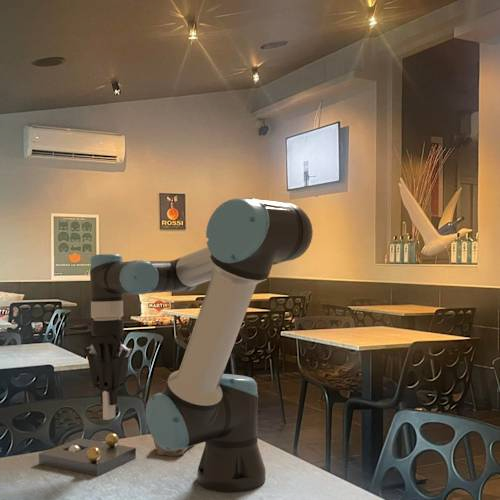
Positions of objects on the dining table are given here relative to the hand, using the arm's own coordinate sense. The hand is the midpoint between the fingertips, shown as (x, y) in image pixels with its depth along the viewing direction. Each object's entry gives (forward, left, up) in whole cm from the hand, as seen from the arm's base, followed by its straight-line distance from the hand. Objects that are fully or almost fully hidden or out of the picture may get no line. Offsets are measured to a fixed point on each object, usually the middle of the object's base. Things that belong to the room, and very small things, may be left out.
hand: (109, 418), depth 145 cm
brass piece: (0, +5, -7) cm, 9 cm away
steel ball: (+11, 0, -10) cm, 15 cm away
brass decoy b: (+4, -6, -7) cm, 10 cm away
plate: (+7, 0, -11) cm, 13 cm away
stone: (-7, -18, -12) cm, 22 cm away
